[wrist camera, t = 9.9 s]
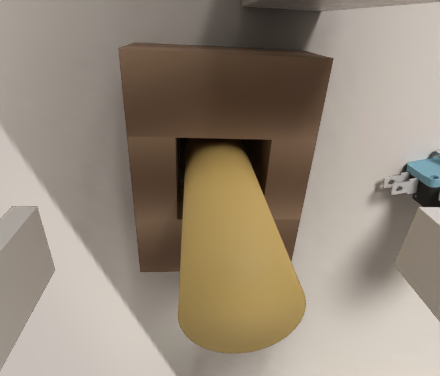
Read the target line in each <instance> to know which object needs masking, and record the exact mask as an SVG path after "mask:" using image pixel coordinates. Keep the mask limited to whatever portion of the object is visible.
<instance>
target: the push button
mask: <svg viewBox="0 0 440 376" xmlns="http://www.w3.org/2000/svg"><path fill="white" fill-rule="evenodd" d="M436 153H438V154H440V149H439V150H437V151H436ZM390 180H394V182H393V184H389V181H390ZM383 187H384V188H390V187H392V188H391V194H392V195H396V194H401V193H407V194H412V193H413V199H414V200H416V201H417V202H418V203H419V204H421V205H422V206H423V207H440V157H436V158H430V159H425V160H419V161H414V162H409V163H408V164H407V169H406V172H404V173H400V175H398V176H392V177H387V178H385V179H384V184H383ZM397 187H399V188H400V187H402V189H401V190H400V191H397V190H396V189H397Z"/></svg>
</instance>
